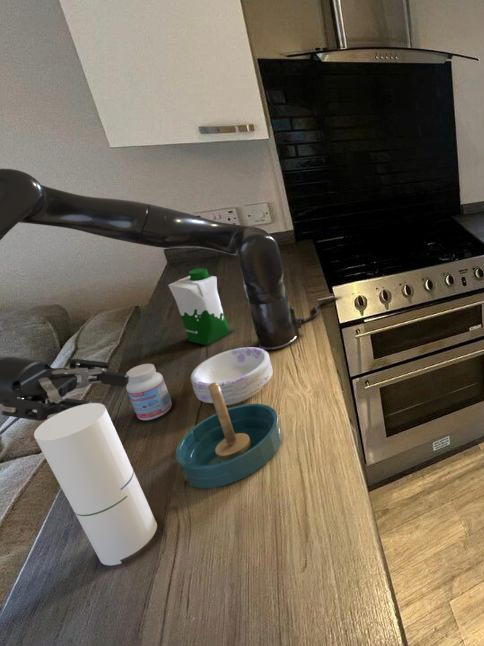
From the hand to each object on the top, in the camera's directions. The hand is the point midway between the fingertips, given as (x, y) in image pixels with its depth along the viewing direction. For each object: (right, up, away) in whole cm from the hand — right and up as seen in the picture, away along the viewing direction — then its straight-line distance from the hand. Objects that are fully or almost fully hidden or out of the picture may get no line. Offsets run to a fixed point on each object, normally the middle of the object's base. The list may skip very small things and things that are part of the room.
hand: (109, 393), depth 78 cm
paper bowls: (+5, -9, +26) cm, 28 cm away
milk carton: (-18, 0, +48) cm, 51 cm away
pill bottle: (-9, -11, +20) cm, 24 cm away
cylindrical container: (+11, -22, -7) cm, 25 cm away
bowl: (+17, -15, +9) cm, 24 cm away
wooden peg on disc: (+17, -14, +9) cm, 23 cm away
